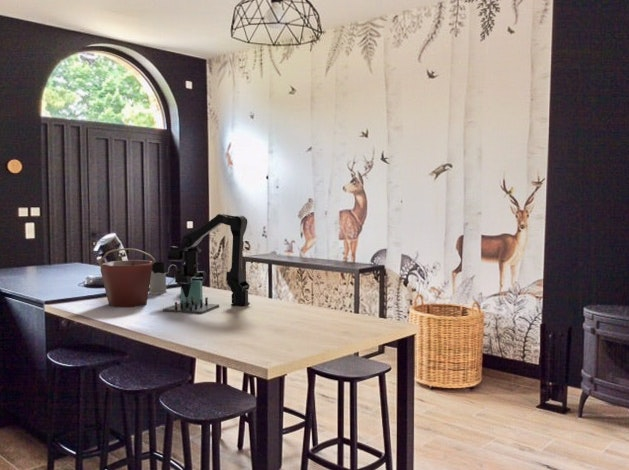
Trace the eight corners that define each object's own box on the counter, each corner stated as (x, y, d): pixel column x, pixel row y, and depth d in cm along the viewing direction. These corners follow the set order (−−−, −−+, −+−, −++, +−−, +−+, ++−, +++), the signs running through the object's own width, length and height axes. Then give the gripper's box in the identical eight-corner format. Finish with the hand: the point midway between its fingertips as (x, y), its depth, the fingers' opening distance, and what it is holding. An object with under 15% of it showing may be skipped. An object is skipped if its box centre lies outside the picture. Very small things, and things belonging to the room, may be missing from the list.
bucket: (92, 308, 252) (91, 251, 250) (109, 299, 274) (107, 246, 272) (149, 308, 252) (148, 250, 250) (161, 298, 274) (160, 246, 272)
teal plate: (202, 302, 265) (202, 280, 264) (200, 303, 263) (200, 281, 262) (183, 301, 268) (182, 279, 267) (181, 302, 266) (180, 280, 265)
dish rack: (219, 306, 254) (218, 297, 254) (201, 314, 239) (200, 304, 239) (183, 304, 260) (182, 295, 260) (163, 311, 245) (163, 302, 245)
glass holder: (147, 292, 293) (146, 262, 292) (175, 289, 299) (175, 261, 298) (150, 294, 285) (149, 264, 284) (179, 292, 291) (178, 262, 290)
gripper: (186, 258, 275) (186, 291, 276) (164, 263, 258) (165, 298, 259) (206, 259, 272) (207, 292, 273) (186, 264, 254) (187, 299, 255)
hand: (191, 295), depth 265 cm, fingers open, 9 cm apart
